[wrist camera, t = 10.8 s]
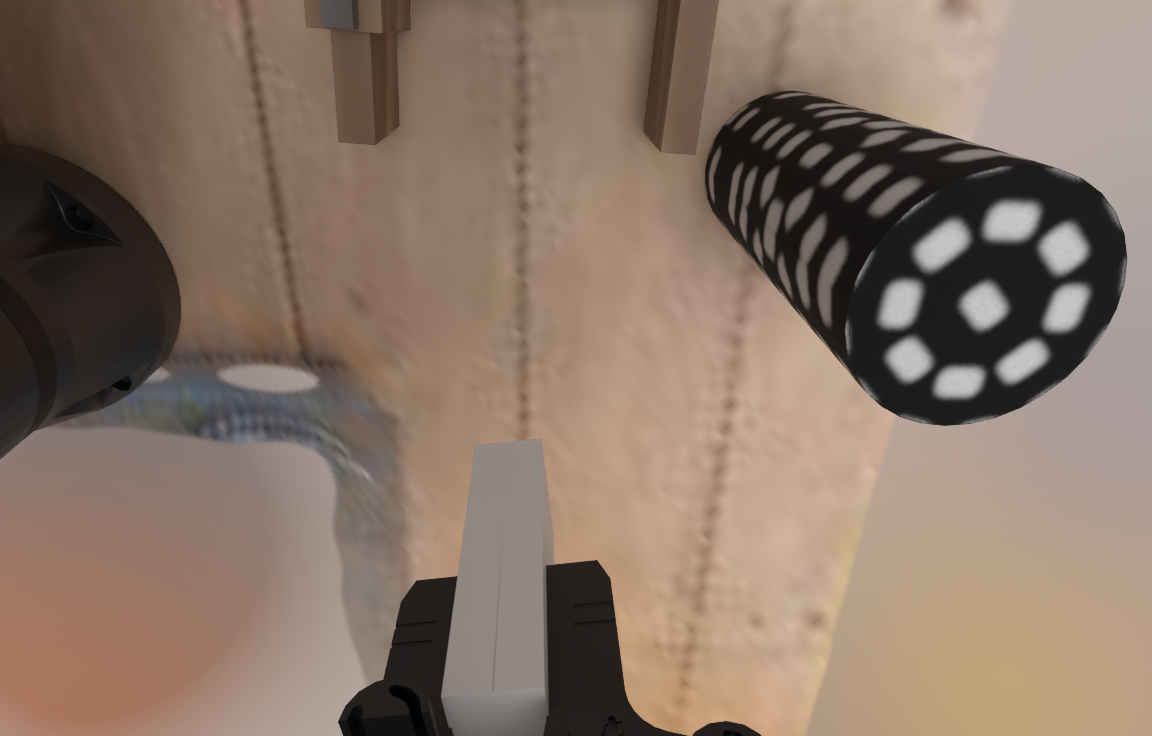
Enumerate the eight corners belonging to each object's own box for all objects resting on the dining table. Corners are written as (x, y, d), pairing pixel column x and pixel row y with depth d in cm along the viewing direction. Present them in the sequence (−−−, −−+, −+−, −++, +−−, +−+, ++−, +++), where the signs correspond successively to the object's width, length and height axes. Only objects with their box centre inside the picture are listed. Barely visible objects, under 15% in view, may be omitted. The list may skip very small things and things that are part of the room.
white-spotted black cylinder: (674, 167, 38) (790, 302, 21) (799, 55, 36) (1052, 96, 18) (762, 272, 41) (930, 469, 24) (882, 174, 39) (1170, 310, 21)
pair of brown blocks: (354, 122, 37) (286, 162, 27) (339, -120, 32) (251, -179, 22) (682, 147, 38) (732, 194, 28) (715, -82, 33) (788, -122, 23)
